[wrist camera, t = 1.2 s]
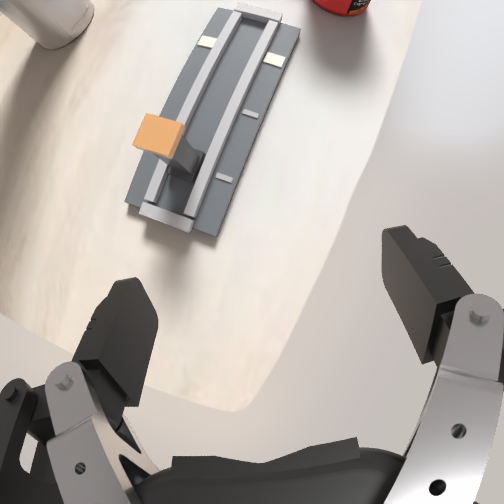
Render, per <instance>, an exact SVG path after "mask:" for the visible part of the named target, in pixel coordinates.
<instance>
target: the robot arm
mask: <svg viewBox="0 0 504 504" xmlns="http://www.w3.org/2000/svg"><path fill="white" fill-rule="evenodd" d="M0 11H1V12H2V13H3V14H4V15H6V16H7V17H8V18H9V19H10V20H12V21H13V22H14V23H15V24H16V25H18V26H19V27H20V28H21V29H22V30H24V31H25V32H26V33H27V34H28V35H29V36H31V37H32V38H33V39H34V40H35V41H37V42H38V43H39V44H40V45H41V46H42V47H44V48H46V49H50V50H53V49H57V48H60V47H63V46H65V45H66V44H68V43H70V42H71V41H73V40H74V39H75V38H76V37H78V36H79V35H80V34H81V33H82V32H83V31H84V30H85V28H86V27H87V26H88V24H89V23H90V21H91V19H92V17H93V14H94V7H93V5H92V3H91V2H90V0H0ZM382 277H383V282H384V285H385V288H386V290H387V292H388V294H389V296H390V298H391V300H392V302H393V304H394V306H395V307H396V310H397V312H398V314H399V316H400V318H401V320H402V322H403V324H404V326H405V328H406V330H407V332H408V335H409V337H410V339H411V341H412V343H413V345H414V348H415V350H416V352H417V354H418V356H419V359H420V361H421V363H422V364H425V363H428V362H431V361H434V362H435V363H436V366H437V370H436V373H435V376H434V379H433V382H432V385H431V388H430V391H429V394H428V396H427V400H426V402H425V405H424V407H423V410H422V413H421V415H420V418H419V420H418V423H417V425H416V427H415V430H414V432H413V435H412V437H411V439H410V441H409V443H408V445H407V447H406V450H405V452H404V454H403V456H401V455H399V454H396V453H393V452H390V451H386V450H382V449H375V448H360V447H359V445H358V441H357V437H355V438H350V439H346V440H341V441H336V442H332V443H326V444H320V445H315V446H309V447H307V448H305V449H302V450H299V451H297V452H294V453H291V454H289V455H286V456H283V457H280V458H278V459H275V460H272V461H269V462H265V463H251V462H245V461H239V460H233V459H227V458H222V457H217V456H173V458H172V467H170V468H167V469H164V470H162V471H160V470H159V469H158V468H157V467H156V465H155V464H154V463H153V462H152V461H151V460H150V458H149V456H148V455H147V453H146V452H145V450H144V448H143V446H142V445H141V443H140V441H139V440H138V437H137V436H136V434H135V432H134V430H133V428H132V427H131V425H130V423H129V421H128V419H127V417H126V416H125V415H124V414H123V411H124V407H138V406H139V401H140V397H141V393H142V389H143V385H144V381H145V376H146V372H147V368H148V364H149V361H150V357H151V353H152V349H153V345H154V341H155V338H156V334H157V330H158V317H157V313H156V311H155V309H154V307H153V305H152V303H151V301H150V299H149V297H148V295H147V293H146V291H145V289H144V287H143V285H142V283H141V282H140V280H139V279H138V278H136V277H134V278H128V279H123V280H118V281H115V282H114V284H113V286H112V288H111V290H110V292H109V294H108V296H107V297H106V298H105V299H104V300H103V301H102V302H101V303H100V304H99V305H98V306H97V308H96V309H95V311H94V313H93V315H92V317H91V321H90V322H89V324H88V326H87V328H86V329H87V330H86V331H85V332H84V334H83V336H82V339H81V341H80V343H79V345H78V347H77V350H76V352H75V354H74V357H73V359H72V361H71V362H66V363H63V364H61V365H59V366H58V367H56V368H55V369H54V370H53V371H52V372H51V373H50V375H49V376H48V378H47V380H46V383H45V384H44V385H41V386H38V387H35V388H31V387H30V386H29V385H28V384H27V383H26V382H25V381H24V380H23V379H21V378H18V379H14V380H12V381H10V382H9V383H8V384H7V385H6V386H5V387H4V388H3V389H2V391H1V393H0V504H478V503H477V502H475V501H474V499H475V496H476V493H477V491H478V488H479V485H480V482H481V479H482V476H483V473H484V470H485V467H486V464H487V461H488V457H489V454H490V450H491V446H492V443H493V439H494V435H495V431H496V427H497V422H498V417H499V412H500V407H501V402H502V397H503V391H504V309H502V307H501V306H500V305H499V303H498V302H497V301H495V300H494V299H492V298H491V297H489V296H486V295H483V294H475V293H474V292H473V291H472V290H471V288H470V287H469V285H468V284H467V283H466V281H465V280H464V279H463V278H462V276H461V275H460V274H459V272H458V271H457V270H456V269H455V267H454V266H453V265H451V263H450V261H449V260H448V259H447V257H444V254H443V253H442V251H441V250H440V249H439V248H438V247H437V245H436V244H434V243H432V242H430V241H429V240H427V239H425V238H418V239H417V238H416V236H415V235H414V234H413V233H412V232H411V230H410V229H409V228H408V227H407V226H406V225H403V226H398V227H392V228H387V229H384V230H383V232H382ZM26 433H28V434H29V435H31V436H32V437H33V438H35V439H36V440H37V441H38V444H37V447H36V452H35V455H34V459H33V463H32V467H31V471H30V474H29V473H27V472H26V471H24V470H23V468H22V467H21V465H20V461H19V457H20V453H21V449H22V446H23V443H24V439H25V436H26Z"/></svg>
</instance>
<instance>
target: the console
mask: <svg viewBox="0 0 504 504" xmlns="http://www.w3.org/2000/svg"><path fill="white" fill-rule="evenodd" d="M281 20H282V14H281V13H278V12H274V11H270V10H266V9H263V8H259V7H254V6H250V5H246V4H241V3H238V4H237V6H236V8H235V9H234V11H232V10H228V9H223V8H218V9H217V10H216V12H215V13H214V15H213V17H212V18H211V20H210V22H209V23H208V25H207V27H206V28H205V30H204V32H203V33H202V35H201V37H200V38H199V40H198V42H197V44H196V45H195V47H194V49H193V51H192V53H191V54H190V56H189V58H188V60H187V62H186V64H185V65H184V67H183V69H182V71H181V73H180V75H179V77H178V79H177V81H176V83H175V85H174V87H173V89H172V91H171V93H170V95H169V97H168V99H167V101H166V103H165V105H164V107H163V109H162V112H161V114H160V116H159V117H162V118H166V119H170V120H173V121H177V122H180V123H182V124H183V125H184V127H185V130H184V132H183V136H184V137H185V138H186V140H187V141H188V142H189V144H190V145H191V146H192V148H194V149H197V150H200V151H203V152H204V153H205V154H206V155H205V158H204V160H203V163H202V165H201V168H200V170H199V173H198V175H197V178H196V180H195V183H191V182H189V181H186V180H183V179H180V178H177V177H174V176H171V175H169V174H168V173H167V171H168V168H169V166H168V165H167V164H166V163H164V162H163V161H162V160H161V159H159V158H158V157H157V156H155V155H154V154H153V153H151V152H148V151H144V152H143V155H142V157H141V160H140V162H139V165H138V167H137V170H136V172H135V175H134V177H133V180H132V183H131V185H130V188H129V191H128V193H127V196H126V199H125V202H126V203H129V204H131V205H134V206H137V207H139V208H140V211H139V214H141V215H144V216H146V217H149V218H152V219H154V220H157V221H159V222H162V223H165V224H167V225H170V226H172V227H175V228H178V229H180V230H183V231H185V232H191V229H192V228H195V229H197V230H200V231H203V232H205V233H208V234H211V235H213V236H217V235H218V232H219V229H220V227H221V224H222V221H223V219H224V216H225V213H226V211H227V208H228V206H229V203H230V200H231V198H232V195H233V193H234V190H235V187H236V185H237V182H238V180H239V177H240V175H241V172H242V170H243V167H244V165H245V162H246V160H247V157H248V155H249V152H250V150H251V147H252V145H253V142H254V140H255V137H256V135H257V132H258V130H259V128H260V125H261V123H262V120H263V118H264V115H265V113H266V111H267V108H268V106H269V104H270V101H271V99H272V96H273V94H274V92H275V89H276V87H277V85H278V82H279V80H280V78H281V75H282V73H283V71H284V68H285V66H286V64H287V62H288V59H289V57H290V55H291V52H292V50H293V48H294V46H295V43H296V41H297V39H298V37H299V35H300V30H301V29H299V28H296V27H293V26H290V25H287V24H283V23H280V22H281Z"/></svg>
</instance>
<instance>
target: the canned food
mask: <svg viewBox="0 0 504 504" xmlns="http://www.w3.org/2000/svg"><path fill="white" fill-rule="evenodd" d="M313 1H314V2H315V3H316V4H317V5H318V6H319V7H321V8H322V9H324V10H326V11H328V12H330V13H333V14H336V15H340V16H355V15H358V14H360V13H362V12H363V11H364V10H365V9H366V8H367V7H368V5H369V3H370V1H371V0H313Z"/></svg>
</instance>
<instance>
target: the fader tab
mask: <svg viewBox="0 0 504 504" xmlns="http://www.w3.org/2000/svg"><path fill="white" fill-rule="evenodd" d="M184 130H185V127H184V125H183V124H182V123H180V122H177V121H173V120H170V119H166V118H162V117H159V116H155V115H151V114H148V113H146V115H145V117H144V119H143V121H142V123H141V126H140V128H139V130H138V132H137V135H136V137H135V139H134V142H133V144H132V145H133V146H135V147H136V148H138V149H141V150H144V151H148V152H151V153H153V154H154V155H155V156H157V157H158V158H159V159H161V160H162V161H163V162H164V163H166V164H167V165H168V166H169V168H168V171H167V173H168V174H169V175H171V176H174V177H177V178H180V179H183V180H186V181H189V182H191V183H195V180H196V178H197V175H198V173H199V170H200V168H201V165H202V163H203V160H204V158H205V155H206V154H205V153H204V152H203V151H200V150H197V149H194V148H192V146H191V145H190V144H189V142H188V141H187V140H186V138H185V137H184V136H183V132H184Z"/></svg>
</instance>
